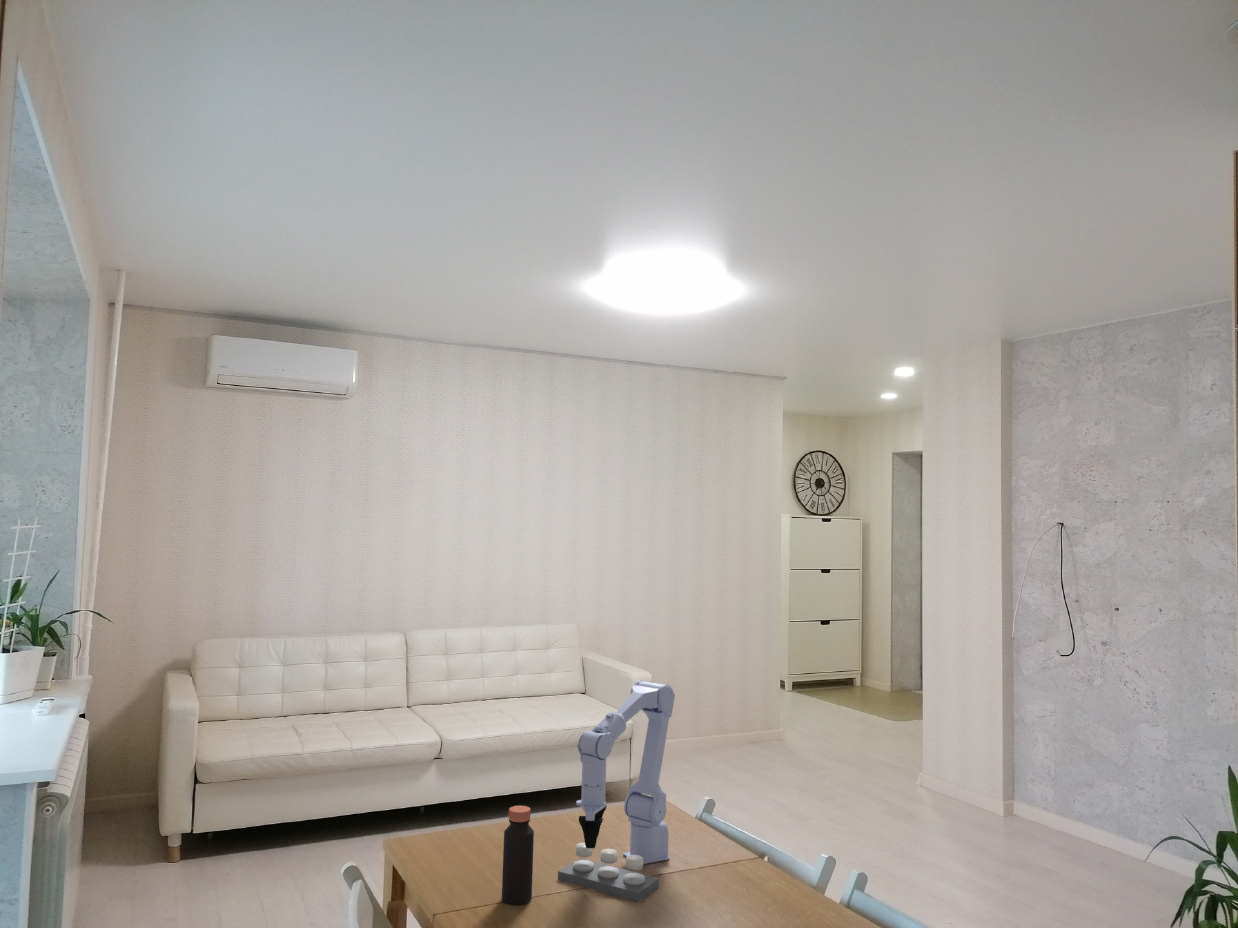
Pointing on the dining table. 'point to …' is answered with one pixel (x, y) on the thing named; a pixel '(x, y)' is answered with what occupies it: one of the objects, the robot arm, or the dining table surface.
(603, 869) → the knob panel
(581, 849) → the knob
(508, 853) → the bottle
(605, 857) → the knob
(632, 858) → the knob
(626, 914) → the dining table surface
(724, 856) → the dining table surface
